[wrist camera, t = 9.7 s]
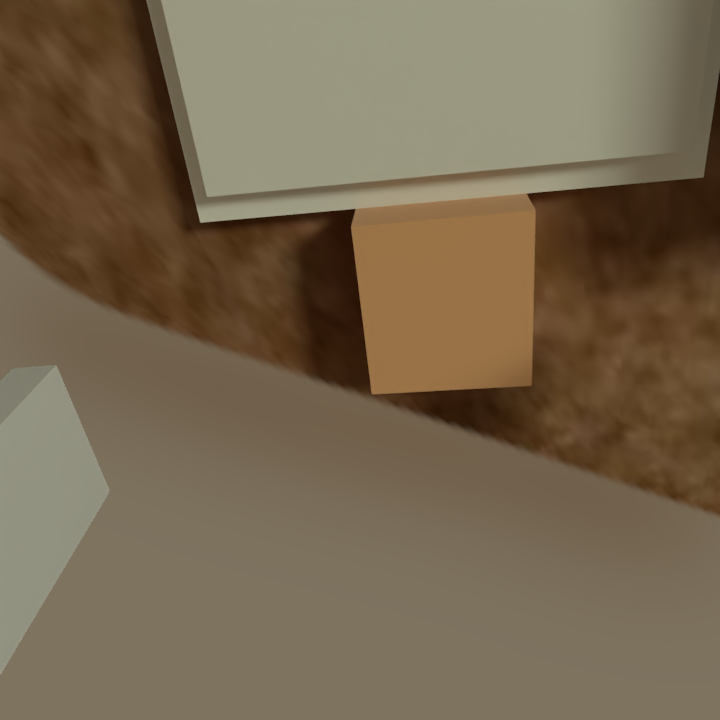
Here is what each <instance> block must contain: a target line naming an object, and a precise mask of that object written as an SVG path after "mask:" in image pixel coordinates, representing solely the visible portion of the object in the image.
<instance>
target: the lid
mask: <svg viewBox="0 0 720 720" xmlns="http://www.w3.org/2000/svg"><path fill="white" fill-rule="evenodd" d="M146 1H147V6H148V10H149V14H150V18H151V22H152V26H153V30H154V34H155V39H156V43H157V47H158V51H159V55H160V59H161V63H162V67H163V71H164V76H165V80H166V84H167V88H168V92H169V96H170V100H171V104H172V108H173V113H174V117H175V121H176V125H177V129H178V133H179V137H180V141H181V145H182V150H183V154H184V158H185V162H186V166H187V170H188V174H189V178H190V183H191V187H192V191H193V195H194V199H195V203H196V207H197V211H198V215H199V220H200V223H203V222H214V221H225V220H236V219H248V218H259V217H270V216H281V215H292V214H303V213H314V212H325V211H337V210H348V209H356V210H355V214H354V217H353V221H352V224H351V231H352V239H353V247H354V255H355V263H356V271H357V279H358V287H359V296H360V304H361V312H362V320H363V328H364V336H365V344H366V352H367V360H368V368H369V376H370V384H371V392H372V394H389V393H407V392H426V391H445V390H463V389H482V388H501V387H519V386H532V354H533V309H534V263H535V218H536V210H535V208H534V206H533V205H532V203H531V201H530V199H529V197H528V195H527V193H537V192H548V191H559V190H570V189H581V188H592V187H603V186H615V185H626V184H637V183H648V182H659V181H670V180H681V179H692V178H704V171H705V164H706V158H707V151H708V144H709V138H710V131H711V124H712V118H713V111H714V104H715V98H716V91H717V84H718V78H719V71H720V0H146Z"/></svg>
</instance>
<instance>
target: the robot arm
mask: <svg viewBox="0 0 720 720" xmlns="http://www.w3.org/2000/svg"><path fill="white" fill-rule="evenodd" d="M109 492H110V491H109V488H108V486H107V484H106V481H105V479H104V477H103V474H102V472H101V469H100V467H99V465H98V462H97V460H96V458H95V456H94V453H93V451H92V448H91V446H90V444H89V441H88V439H87V437H86V434H85V432H84V430H83V427H82V425H81V423H80V420H79V418H78V416H77V413H76V411H75V408H74V406H73V404H72V402H71V399H70V397H69V394H68V392H67V390H66V387H65V385H64V383H63V380H62V378H61V376H60V373H59V371H58V368H57V366H56V365H51V366H38V367H25V368H14V369H12V370H11V371H10V372H9V373H8V374H7V375H6V376H5V377H4V378H3V379H2V380H1V381H0V674H1V673H2V671H3V669H4V668H5V666H6V664H7V663H8V661H9V659H10V657H11V656H12V654H13V653H14V651H15V649H16V647H17V646H18V644H19V643H20V641H21V639H22V638H23V636H24V634H25V633H26V631H27V629H28V628H29V626H30V624H31V622H32V621H33V619H34V617H35V616H36V614H37V612H38V611H39V609H40V607H41V606H42V604H43V602H44V601H45V599H46V597H47V596H48V594H49V592H50V591H51V589H52V587H53V586H54V584H55V582H56V581H57V579H58V577H59V576H60V574H61V572H62V570H63V569H64V567H65V566H66V564H67V562H68V561H69V559H70V557H71V555H72V554H73V552H74V550H75V549H76V547H77V545H78V544H79V542H80V540H81V539H82V537H83V535H84V534H85V532H86V530H87V529H88V527H89V525H90V524H91V522H92V520H93V519H94V517H95V515H96V513H97V512H98V510H99V509H100V507H101V505H102V504H103V502H104V500H105V499H106V497H107V495H108V493H109Z"/></svg>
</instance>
